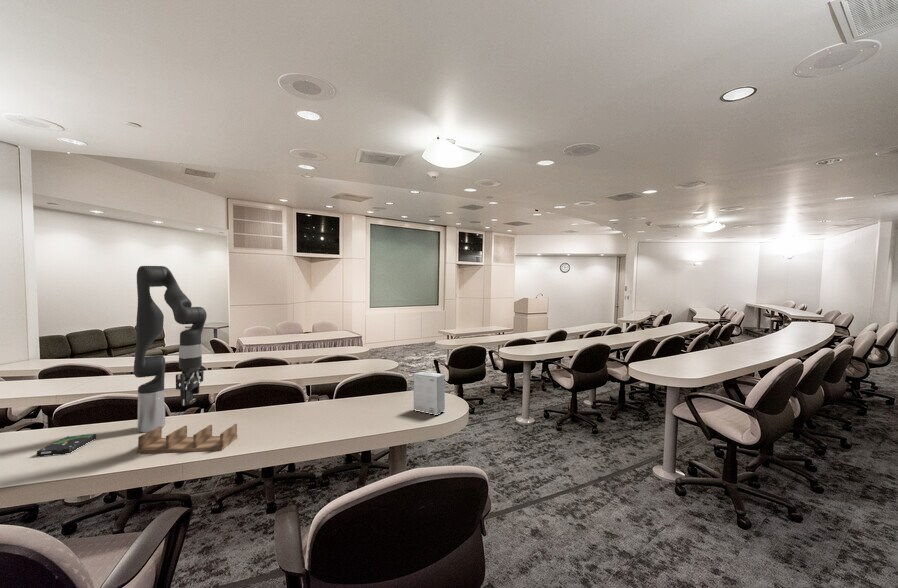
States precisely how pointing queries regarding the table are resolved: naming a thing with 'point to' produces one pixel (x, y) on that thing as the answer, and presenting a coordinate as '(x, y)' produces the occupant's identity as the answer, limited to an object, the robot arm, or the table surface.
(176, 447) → the divider rack
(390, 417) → the table surface
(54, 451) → the disk drive
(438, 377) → the hard drive box
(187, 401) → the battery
